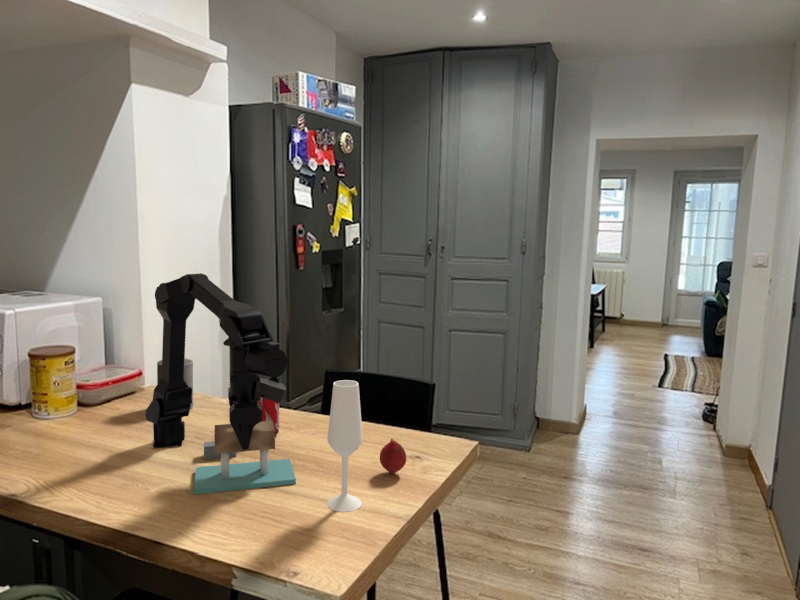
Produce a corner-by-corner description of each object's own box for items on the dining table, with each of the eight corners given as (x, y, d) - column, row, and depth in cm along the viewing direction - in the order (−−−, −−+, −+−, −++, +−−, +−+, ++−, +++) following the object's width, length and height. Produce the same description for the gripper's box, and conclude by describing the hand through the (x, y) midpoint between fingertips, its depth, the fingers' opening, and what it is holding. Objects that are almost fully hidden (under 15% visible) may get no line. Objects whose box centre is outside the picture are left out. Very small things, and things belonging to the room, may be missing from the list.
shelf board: (214, 453, 119) (214, 434, 118) (215, 443, 125) (214, 425, 124) (275, 448, 122) (275, 430, 122) (272, 438, 128) (272, 420, 128)
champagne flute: (334, 514, 110) (335, 389, 107) (322, 499, 116) (323, 380, 112) (367, 507, 113) (369, 386, 110) (353, 493, 119) (355, 377, 116)
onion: (409, 470, 130) (410, 435, 129) (400, 481, 125) (401, 445, 124) (384, 466, 132) (385, 432, 131) (375, 476, 127) (376, 441, 126)
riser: (204, 459, 133) (203, 446, 133) (204, 454, 136) (204, 442, 136) (236, 456, 135) (235, 444, 135) (235, 451, 138) (235, 439, 138)
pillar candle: (150, 411, 165) (149, 359, 163) (169, 401, 175) (168, 352, 173) (182, 415, 164) (181, 362, 162) (200, 404, 173) (199, 354, 171)
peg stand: (194, 494, 116) (193, 460, 115) (196, 471, 127) (195, 440, 126) (295, 483, 122) (295, 451, 121) (289, 462, 133) (289, 433, 132)
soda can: (275, 440, 146) (275, 393, 144) (247, 439, 146) (247, 393, 144) (282, 430, 153) (282, 386, 151) (255, 430, 153) (254, 385, 151)
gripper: (288, 378, 115) (288, 454, 117) (279, 357, 133) (279, 423, 135) (229, 381, 112) (230, 460, 114) (227, 359, 129) (228, 427, 131)
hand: (244, 441), depth 123 cm, fingers open, 9 cm apart
